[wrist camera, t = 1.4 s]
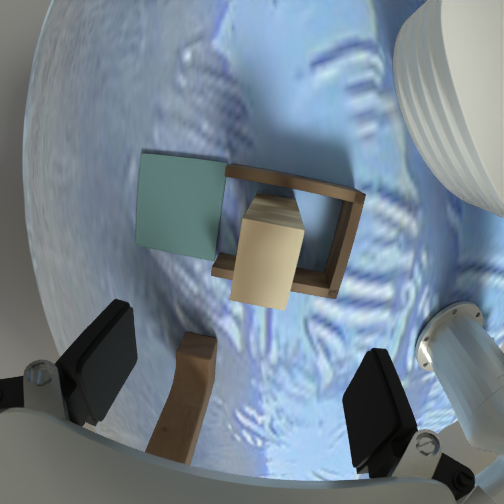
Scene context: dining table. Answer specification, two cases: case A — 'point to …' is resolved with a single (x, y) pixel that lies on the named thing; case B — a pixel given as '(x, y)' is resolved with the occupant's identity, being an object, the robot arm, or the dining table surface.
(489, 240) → the dining table surface
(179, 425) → the wooden block
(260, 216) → the birch block
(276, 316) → the dining table surface
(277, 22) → the dining table surface
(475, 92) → the plate stack
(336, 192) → the crate
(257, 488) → the robot arm
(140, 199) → the mat
